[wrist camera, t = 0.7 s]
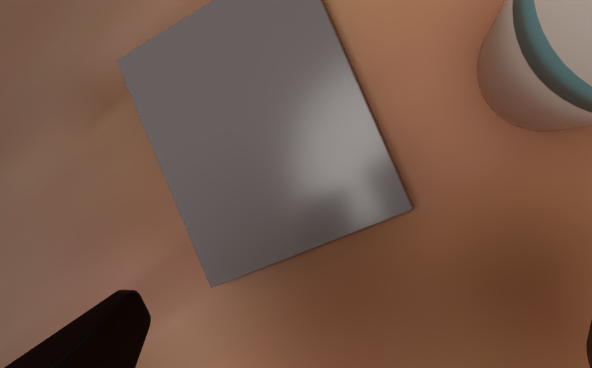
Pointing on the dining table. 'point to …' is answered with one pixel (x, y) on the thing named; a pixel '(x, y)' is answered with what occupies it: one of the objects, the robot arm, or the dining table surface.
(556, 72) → the banded post
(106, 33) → the dining table surface
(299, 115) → the slate tile
